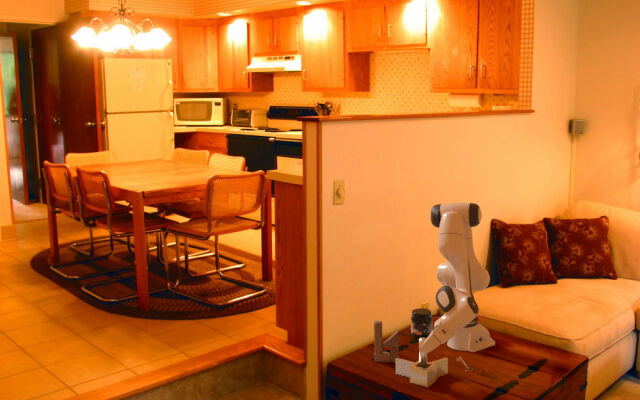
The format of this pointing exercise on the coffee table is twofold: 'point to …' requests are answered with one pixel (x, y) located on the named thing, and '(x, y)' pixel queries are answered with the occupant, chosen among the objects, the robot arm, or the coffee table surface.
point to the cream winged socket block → (422, 370)
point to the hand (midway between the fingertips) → (421, 348)
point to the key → (464, 364)
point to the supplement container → (421, 322)
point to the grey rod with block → (385, 345)
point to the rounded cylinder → (422, 354)
